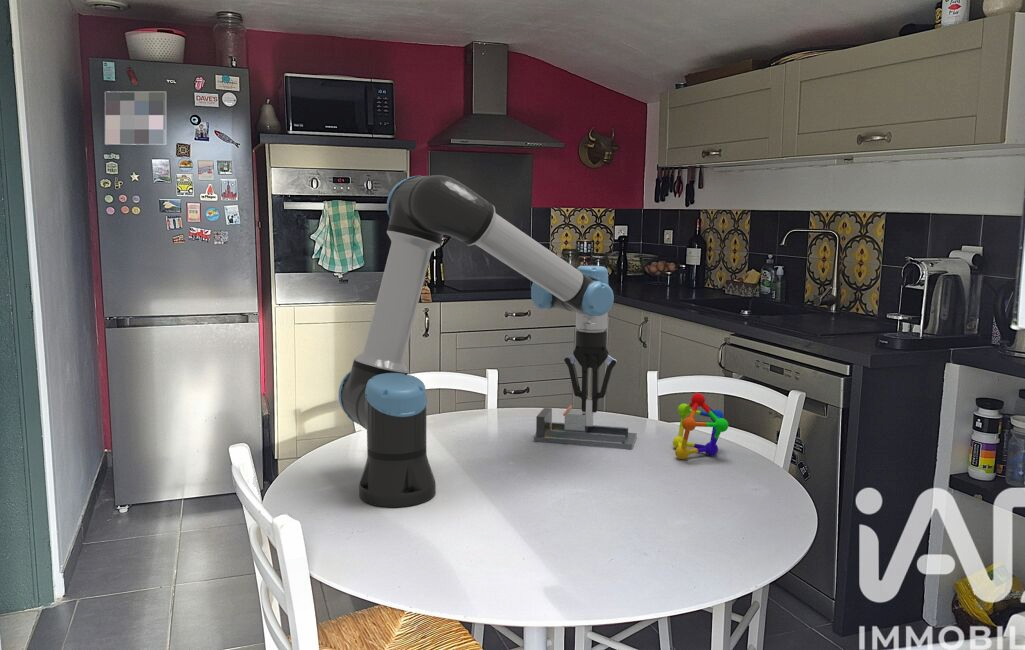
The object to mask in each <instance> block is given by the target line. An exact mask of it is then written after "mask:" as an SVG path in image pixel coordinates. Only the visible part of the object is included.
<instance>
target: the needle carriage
mask: <svg viewBox="0 0 1025 650" xmlns="http://www.w3.org/2000/svg"><path fill="white" fill-rule="evenodd" d="M562 415H563V416H564V423H565V427H564V431H573V432H586V433H587V431H588V426H586V412H582V408H581V409H580V408H573V405H572V404H570V405H569V406H568V407H567V409H566V410H565V411H564V413H563V414H562Z"/></svg>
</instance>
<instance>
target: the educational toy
mask: <svg viewBox="0 0 1025 650" xmlns="http://www.w3.org/2000/svg"><path fill="white" fill-rule="evenodd" d="M699 407H701V408H702V409H703V410H704V411H703V410H698V408H699ZM677 412H678V415H680V421H679V427H678V429H679V430H678V436H675V437H674V439H673V440H672V446H673V447H674V448H675V457H676V458H678V459H679V460H686V459H687V458H688V457H689V456H690V455H691V454H693V455H694V454H700V453H705V454H707V455H708V456H710V455H713V456H715V455H717V453H718V451H719V447H718V445H717V442H718V439H719V438H720V435H721V433H723V432H726V431H727V430H728V429H729V422H728V421H727V420H726V418H725V415H724V413H723V411H722V410H720V409H714V410H713V409H712V408H711V407H710V406H709V405H708V404H707V403H706V398H705V396H704V394H702V393H700V392H695V393H694V394H693V395H692V396H691V402H689V403H688V404H687V403H681V404H679V405H678V407H677ZM696 415H697V416H702V417H707V418H710V420H711V421H712V422H704V421H702V422H701V421H696V420H695V419H694V418H695V417H696ZM696 427H698V428H699V427H701V428H712V431H711V435H710V441H708V442H707V443H705V444H700V443H699V444H698V443H695V442H688V440H689V436H690V433H691V431H694V430H695V429H696ZM688 447H689V448H690V449H689V448H688Z"/></svg>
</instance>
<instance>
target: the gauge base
mask: <svg viewBox="0 0 1025 650" xmlns="http://www.w3.org/2000/svg"><path fill="white" fill-rule="evenodd" d="M535 421H536V423H535V424H536V425H535V426H536V427H535V429H536V430H535V431H536V432H535V433H536V434H535V435H534V436H533V442H535V443H536V442H537V443H547V444H548V443H549V444H559V445H561V444H562V445H573V446H585V447H586V446H587V447H597V448H598V447H599V448H609V449H610V448H611V449H625V450H633V448H634V446H635V443H636V441H637V437H638V434H637V433H636V432H629V427H623V426H622V427H621V426H608V425H597V424H596V425H594V424H593V425H592V426H588V431H587V433H586V432H573V431H564V427H565V422H556V421H555V422H553V408H552V407H543V409H542V410H541V411H540V412H539V413H538V414H537V416H536V420H535Z"/></svg>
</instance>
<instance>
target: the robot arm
mask: <svg viewBox="0 0 1025 650" xmlns="http://www.w3.org/2000/svg"><path fill="white" fill-rule="evenodd" d="M386 212H387V215H388V217H389V220H388V224H387V225H388V226H387V229H386V234H387V236H388V237H389V239H390V242H391V243H390V247H389V252H388V255H387V259H386V262H385V263H386V264H385V265H384V266H385V267H384V270H383V275H382V278H381V283H380V286H379V290H378V295H377V297H376V302H375V306H374V309H373V315H372V317H371V322H370V326H369V330H368V333H367V337H366V341H365V345H364V349H363V351H362V353H360V354H358V355H357V356H354V358H353V361H352V366H351V368H350V369H351V370H350V371H349V372H348V373H346V375H345V376H344V377H343V378H342V380H341V382H340V384H339V387H338V401H339V404H340V407H341V410H342V411H343V413H345V414H346V416H347V417H348V418H349V419H350V420H351V421H352V422H354V423H355V424H357V425H359V426H361V427H362V428H363V429H365V430H366V447H367V449H366V450H367V453H366V461H365V465H364V468H363V470H362V474H361V476H360V480H359V484H358V496H359V498H360V500H361V501H363V502H364V503H366V504H370V505H373V506H377V507H385V508H386V507H387V508H400V507H409V506H415V505H419V504H422V503H425V502H428V501H429V500H432V499H433V498H434V497H435V496H436V491H437V490H436V489H437V488H436V487H437V483H436V479H435V476H434V474H433V470H432V467H431V465H430V461H429V458H428V456H427V405H428V397H427V393H426V391H427V390H426V385H425V383H424V382H423V381H422V379H420V378H419V377H417V376H414V375H413V374H412V375H411V374H408V373H409V370H408V368H407V367H406V364H405V362H404V360H405V355H406V352H407V348H408V344H409V340H410V337H411V332H412V329H413V324H414V321H415V317H416V312H417V310H418V305H419V302H420V297H421V293H422V289H423V286H424V282H425V280H426V279H425V278H426V274H427V270H428V267H429V263H430V259H431V255H432V253H433V252H434V251H435V250H437V249H438V248H441V246H442V245H441V244H442V241H443V237H444V236H445V235H446V236H448V237H452V238H454V239H456V240H458V241H460V242H461V243H463V244H465V245H466V246H468V247H469V246H470V247H471V246H473V245H476V246H477V247H478V248H480V249H482V250H483V251H485V252H486V253H488V254H489V255H491V256H493V257H494V258H495V259H497V260H499V261H500V262H502V263H503V264H505V265H507V266H508V267H509V268H511V269H512V270H514V271H516V272H517V273H519V274H520V275H522V276H523V277H525V278H527V279H528V280H530V281H531V282H532V284H531V287H530V297H531V301H532V303H533V305H534V306H535V307H536V308H537V309H541V310H543V309H545V310H550V309H558V310H563V311H567V312H573V313H575V328H576V329H577V330H576V331H575V345H574V346H575V348H574V350H573V351H572V352H573V353H572V354H570V355H567V356H566V357H564V360H563V361H564V363H565V364H566V365H567V368H568V371H569V376H570V380H571V382H570V383H571V385H572V391H573V394H574V396H575V397H578V398H580V399H581V410H582V412H586V426H592V425H594V413H597V412H598V411H599V399H603V398H605V396H606V394H607V391H608V388H609V383H610V380H611V376H612V373H613V369H614V367H615V366H616V364H617V363H618V359H617V358H613V357H612V356H610V354H609V351H608V348H607V343H608V333H607V331H606V329H608V313H609V312H610V311H611V308H612V307H613V305H614V300H615V296H614V291H613V289H612V288H611V286H610V285H609V272H608V268H606V267H605V266H603V265H602V266H601V265H579V266H578V267H577V268H575V267H574V266H573V265H571V264H570V263H569V262H567V261H565V260H564V259H562V258H561V257H560V256H559V255H557V254H556V253H554V252H552V251H551V250H550V249H548V248H547V247H545V246H544V245H542V244H541V243H540V242H538V241H536V240H535V239H533V238H532V237H531V236H529V235H528V234H526V233H525V232H523V231H522V230H520V229H519V228H518V227H516V226H515V225H513V224H512V223H511V222H509V221H508V220H506V219H504V218H503V217H502V216H500V215H499V214H497V213H496V207H495V206H494V204H492V203H491V202H489V201H488V200H486V199H485V198H483V197H482V196H480V195H479V194H478V193H476V192H475V191H474V190H472V189H471V188H469V187H468V186H466V185H465V184H463V183H462V182H460V181H458V180H456V179H454V178H453V177H450V176H447V175H443V174H442V175H441V174H438V175H437V174H436V175H435V174H434V175H433V174H432V175H423V176H422V175H414V176H409V177H406V178H405V179H403V180H400V181H399V182H398V183H396V184H395V185H394V186H393V188H392V189H391V190H390V192H389V195H388V196H387V201H386ZM575 359H576V360H575ZM576 361H577V362H578V364H579V366H581V387H580V383H579V377H578V374H577V368H576V365H575V362H576ZM605 361H606V366H607V368H606V370H605V372H604V378H603V381H602V385H601V388H600V387H599V384H600V381H599V380H600V367H601V366H602V365H603V364H604V363H605ZM589 369H591V372H592V378H591V379H592V380H591V381H592V382H591V383H592V384H591V396H592V397H589V371H590V370H589ZM599 388H600V389H599ZM599 390H600V391H599Z"/></svg>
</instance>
